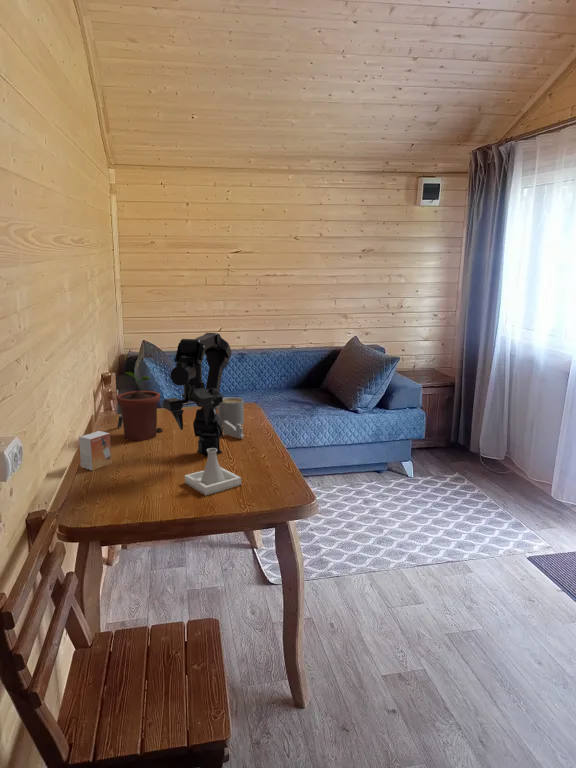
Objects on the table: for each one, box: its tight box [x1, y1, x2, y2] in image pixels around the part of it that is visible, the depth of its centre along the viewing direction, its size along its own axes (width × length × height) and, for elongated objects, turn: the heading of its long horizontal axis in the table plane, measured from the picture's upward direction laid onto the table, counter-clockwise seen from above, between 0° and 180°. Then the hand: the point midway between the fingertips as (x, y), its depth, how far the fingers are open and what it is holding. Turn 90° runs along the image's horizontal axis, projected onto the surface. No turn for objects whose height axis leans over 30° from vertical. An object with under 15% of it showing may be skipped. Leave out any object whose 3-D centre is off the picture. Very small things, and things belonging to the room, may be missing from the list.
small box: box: [78, 430, 113, 471], centre depth 180 cm, size 8×6×10 cm
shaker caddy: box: [184, 466, 242, 497], centre depth 165 cm, size 12×12×2 cm
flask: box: [201, 448, 225, 486], centre depth 164 cm, size 7×7×10 cm
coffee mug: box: [216, 396, 245, 426], centre depth 227 cm, size 13×10×10 cm
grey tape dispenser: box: [223, 421, 245, 440], centre depth 210 cm, size 6×1×10 cm
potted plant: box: [115, 371, 164, 442], centre depth 212 cm, size 18×22×25 cm
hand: (194, 426), depth 178 cm, fingers open, 9 cm apart
